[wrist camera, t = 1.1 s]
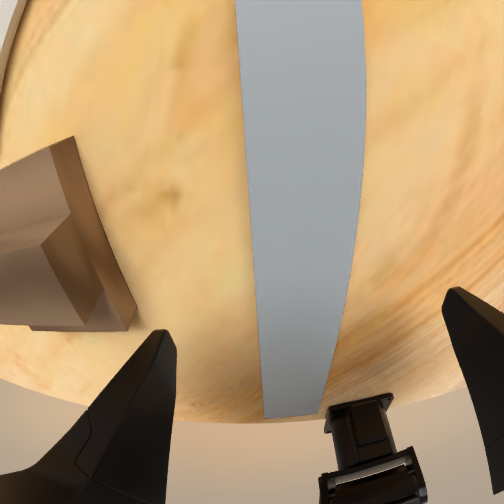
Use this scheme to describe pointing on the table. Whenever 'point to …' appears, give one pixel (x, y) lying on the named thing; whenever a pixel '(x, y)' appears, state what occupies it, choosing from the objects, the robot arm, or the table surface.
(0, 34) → the baseboard molding
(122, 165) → the table surface
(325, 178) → the slate stick
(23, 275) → the ridge block
